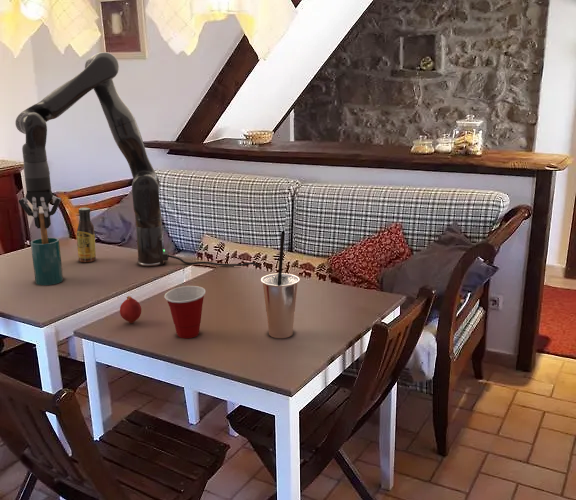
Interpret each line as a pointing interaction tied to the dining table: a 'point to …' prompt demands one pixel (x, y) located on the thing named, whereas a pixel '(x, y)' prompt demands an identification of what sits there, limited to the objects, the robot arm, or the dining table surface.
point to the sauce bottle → (85, 237)
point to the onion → (130, 310)
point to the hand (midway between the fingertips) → (43, 227)
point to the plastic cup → (186, 309)
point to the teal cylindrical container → (47, 261)
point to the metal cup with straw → (280, 299)
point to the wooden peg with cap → (43, 228)
